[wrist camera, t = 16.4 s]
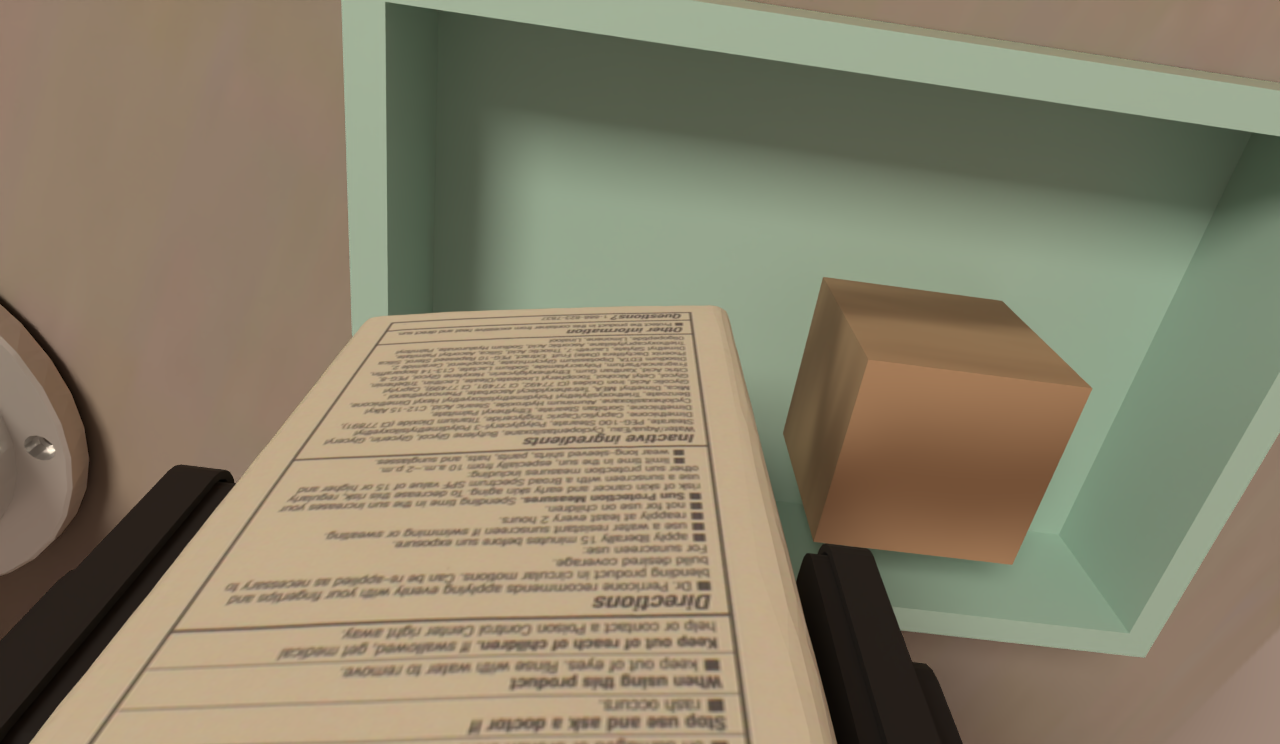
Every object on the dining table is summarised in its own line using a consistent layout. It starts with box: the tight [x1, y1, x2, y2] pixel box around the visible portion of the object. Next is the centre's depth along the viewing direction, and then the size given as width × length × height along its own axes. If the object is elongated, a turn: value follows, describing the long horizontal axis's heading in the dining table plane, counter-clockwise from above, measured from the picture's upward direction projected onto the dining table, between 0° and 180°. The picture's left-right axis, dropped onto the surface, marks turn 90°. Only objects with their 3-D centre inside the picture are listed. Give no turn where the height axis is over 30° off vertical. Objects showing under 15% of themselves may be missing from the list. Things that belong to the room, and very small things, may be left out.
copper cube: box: [783, 277, 1093, 565], centre depth 21 cm, size 5×5×5 cm
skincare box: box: [29, 305, 837, 744], centre depth 9 cm, size 6×4×12 cm
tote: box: [341, 0, 1280, 658], centre depth 20 cm, size 22×15×5 cm
